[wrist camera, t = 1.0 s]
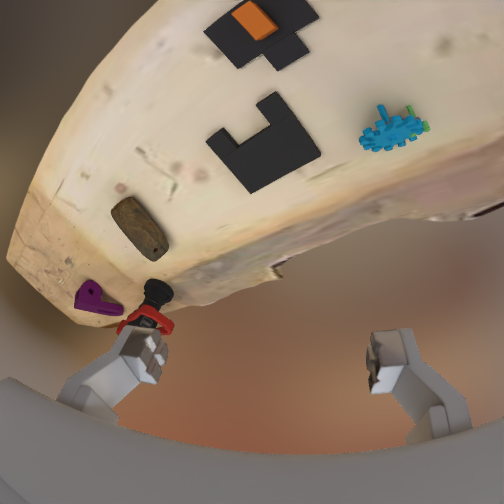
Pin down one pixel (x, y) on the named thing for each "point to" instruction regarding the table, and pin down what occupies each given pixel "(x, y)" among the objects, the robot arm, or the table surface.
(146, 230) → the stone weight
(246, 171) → the socket pad
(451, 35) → the table surface
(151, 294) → the fire hose nozzle
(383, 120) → the gear
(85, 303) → the mounting bracket
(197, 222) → the table surface
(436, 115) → the table surface
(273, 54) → the pad
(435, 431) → the robot arm
